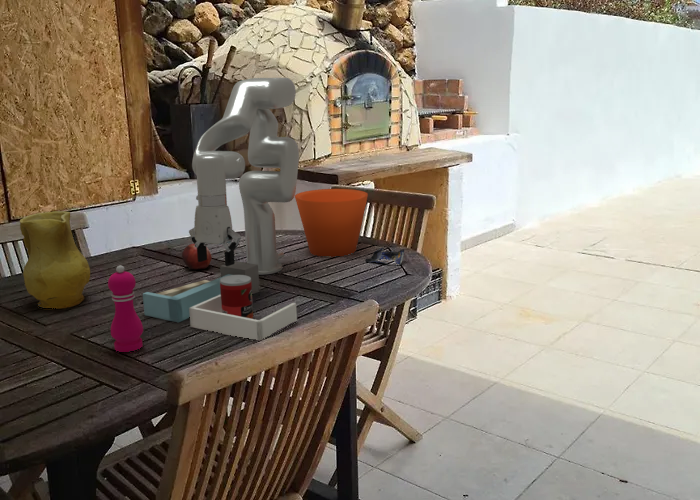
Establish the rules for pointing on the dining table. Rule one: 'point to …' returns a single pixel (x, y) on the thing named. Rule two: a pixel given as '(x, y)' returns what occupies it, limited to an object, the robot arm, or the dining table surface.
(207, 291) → the teal gray angled bar
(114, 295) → the pepper mill
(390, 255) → the snack package
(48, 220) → the pitcher
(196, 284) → the stick
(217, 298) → the bay
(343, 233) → the flowerpot
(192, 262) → the fruit
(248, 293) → the canned food
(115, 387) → the dining table surface
